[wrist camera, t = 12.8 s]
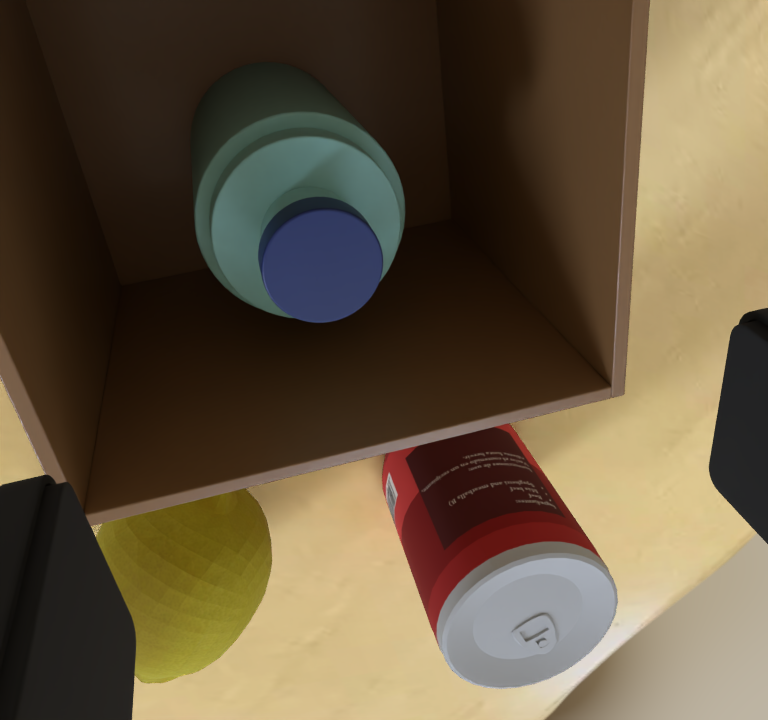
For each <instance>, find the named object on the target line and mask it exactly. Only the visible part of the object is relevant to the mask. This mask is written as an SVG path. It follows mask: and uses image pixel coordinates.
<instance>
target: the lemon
mask: <svg viewBox="0 0 768 720" xmlns="http://www.w3.org/2000/svg"><path fill="white" fill-rule="evenodd" d="M96 539H97V542H98V544H99V546H100V548H101V550H102V552H103V555H104V557H105V559H106V561H107V563H108V566H109V568H110V570H111V572H112V574H113V577H114V579H115V581H116V583H117V585H118V588H119V590H120V592H121V594H122V596H123V599H124V601H125V603H126V605H127V607H128V609H129V612H130V614H131V616H132V619H133V622H134V626H135V632H136V658H135V676H136V677H137V678H138V679H139V680H140V681H141V682H144V683H164V682H167V681H170V680H173V679H175V678H177V677H179V676H183V675H188V674H193V673H195V672H197V671H199V670H201V669H203V668H204V667H206V666H208V665H209V664H211V663H212V662H214V661H215V660H217V659H218V658H220V657H221V656H222V654H223V653H224V652H225V651H226V650H227V649H228V648H229V647H230V646H231V645H232V644H233V643H234V642H235V641H236V640H237V638H238V637H239V636H240V634H241V633H242V631H243V630H244V629H245V627H246V626H247V625H248V623H249V621H250V620H251V618H252V616H253V615H254V613H255V611H256V610H257V608H258V606H259V604H260V603H261V601H262V598H263V596H264V594H265V591H266V587H267V584H268V580H269V576H270V572H271V565H272V550H271V539H270V533H269V529H268V524H267V520H266V517H265V515H264V513H263V511H262V509H261V507H260V505H259V503H258V502H257V501H256V500H255V499H254V497H253V496H252V495H251V494H250V493H249V492H248V491H247V490H246V489H245V488H244V489H240V490H236V491H232V492H228V493H224V494H220V495H215V496H211V497H207V498H203V499H199V500H195V501H191V502H187V503H183V504H179V505H175V506H171V507H167V508H163V509H159V510H154V511H150V512H146V513H142V514H138V515H134V516H130V517H126V518H122V519H118V520H114V521H110V522H106V523H103V524H102V526H101V528H100V530H99V532H98V534H97V536H96Z"/></svg>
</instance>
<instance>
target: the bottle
mask: <svg viewBox="0 0 768 720" xmlns="http://www.w3.org/2000/svg"><path fill="white" fill-rule="evenodd" d="M190 143H191V164H192V184H193V204H194V224H195V232H196V237H197V242H198V245H199V248H200V250H201V253H202V256H203V258H204V260H205V262H206V263H207V265H208V267H209V268H210V270H211V271H212V273H213V274H214V276H215V277H216V278H217V279H218V280H219V282H220V283H221V284H222V285H223V286H224V287H225V288H226V289H228V290H229V291H230V292H231V293H232V294H233V295H235V296H236V297H238V298H239V299H241V300H242V301H244V302H246V303H248V304H250V305H252V306H254V307H256V308H259V309H262V310H264V311H266V312H269V313H272V314H275V315H278V316H283V317H288V318H297V319H299V320H302V321H307V322H314V323H326V322H332V321H336V320H340V319H342V318H345V317H347V316H349V315H351V314H353V313H354V312H356V311H357V310H359V309H360V308H361V307H362V306H363V305H364V304H366V303H367V301H368V300H369V299H370V298H371V297H372V295H373V294H374V292H375V290H376V288H377V286H378V284H379V282H380V281H381V280H382V279H383V277H384V276H385V274H386V273H387V271H388V269H389V267H390V265H391V264H392V262H393V260H394V257H395V254H396V252H397V250H398V247H399V244H400V241H401V238H402V234H403V229H404V222H405V199H404V193H403V187H402V184H401V181H400V178H399V175H398V173H397V170H396V168H395V166H394V164H393V162H392V161H391V159H390V158H389V156H388V155H387V153H386V151H385V150H384V149H383V148H382V147H381V146H380V145H379V143H378V142H377V141H376V140H375V139H374V138H373V137H372V136H371V135H370V134H369V133H368V132H367V131H366V130H365V128H364V127H363V126H362V125H361V124H360V123H359V122H358V121H357V120H356V119H355V118H354V117H353V116H352V115H351V114H350V113H349V112H348V111H347V110H346V109H345V107H344V106H343V105H342V104H341V103H340V102H339V101H338V100H337V99H336V98H335V97H334V96H333V95H332V94H331V93H330V92H329V91H328V90H327V89H326V88H325V86H324V85H322V84H321V83H320V82H319V81H318V80H317V79H316V78H314V77H313V76H311V75H310V74H308V73H306V72H304V71H302V70H300V69H298V68H296V67H293V66H290V65H287V64H281V63H275V62H261V63H253V64H249V65H244V66H242V67H239V68H237V69H234V70H232V71H231V72H229V73H227V74H225V75H224V76H223V77H221V78H220V79H219V80H217V81H216V82H215V83H214V84H213V85H212V86H211V87H210V88H209V89H208V91H207V92H206V93H205V95H204V96H203V98H202V99H201V101H200V103H199V105H198V107H197V109H196V112H195V115H194V117H193V122H192V126H191V136H190Z"/></svg>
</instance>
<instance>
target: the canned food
mask: <svg viewBox="0 0 768 720" xmlns="http://www.w3.org/2000/svg"><path fill="white" fill-rule="evenodd" d="M382 482H383V491H384V495H385V498H386V501H387V504H388V507H389V510H390V512H391V515H392V518H393V521H394V524H395V526H396V529H397V532H398V535H399V538H400V541H401V543H402V546H403V549H404V552H405V555H406V557H407V560H408V563H409V566H410V569H411V572H412V574H413V577H414V580H415V583H416V586H417V588H418V591H419V594H420V597H421V600H422V603H423V605H424V608H425V611H426V614H427V617H428V619H429V622H430V625H431V628H432V630H433V632H434V635H435V637H436V640H437V643H438V646H439V648H440V650H441V652H442V654H443V655H444V658H445V660H446V662H447V663H448V665H449V667H450V668H451V670H452V671H453V672H455V673H456V674H457V675H458V676H459V677H460V678H462V679H464V680H466V681H468V682H470V683H472V684H474V685H478V686H482V687H486V688H498V689H505V688H517V687H522V686H527V685H532V684H535V683H538V682H541V681H544V680H547V679H549V678H551V677H553V676H555V675H557V674H560V673H562V672H564V671H565V670H567V669H568V668H570V667H572V666H573V665H575V664H576V663H578V662H579V661H580V660H581V659H583V658H584V657H585V656H586V655H587V654H589V653H590V652H591V651H592V650H593V649H594V648H595V647H596V645H597V644H598V643H599V642H600V641H601V640H602V638H603V637H604V635H605V634H606V632H607V631H608V629H609V628H610V626H611V623H612V621H613V619H614V616H615V613H616V608H617V603H618V599H617V588H616V586H615V583H614V580H613V578H612V576H611V575H610V573H609V570H608V568H607V566H606V565H605V563H604V562H603V560H602V559H601V557H600V556H599V554H598V553H597V551H596V549H595V547H594V546H593V545H592V543H591V542H590V540H589V539H588V537H587V536H586V534H585V533H584V531H583V530H582V528H581V527H580V525H579V524H578V523H577V521H576V520H575V518H574V517H573V515H572V514H571V512H570V511H569V509H568V508H567V506H566V505H565V503H564V502H563V501H562V499H561V498H560V496H559V495H558V493H557V492H556V490H555V489H554V487H553V486H552V484H551V483H550V481H549V480H548V479H547V477H546V476H545V474H544V473H543V471H542V470H541V468H540V467H539V465H538V464H537V462H536V461H535V459H534V458H533V457H532V455H531V454H530V452H529V451H528V449H527V448H526V446H525V445H524V443H523V442H522V440H521V439H520V437H519V436H518V435H517V433H516V432H515V431H514V429H513V428H512V426H511V425H509V424H504V425H500V426H496V427H492V428H488V429H484V430H480V431H476V432H472V433H467V434H463V435H459V436H455V437H451V438H447V439H443V440H439V441H435V442H431V443H427V444H423V445H419V446H415V447H411V448H407V449H402V450H398V451H394V452H390V453H386V455H385V460H384V465H383V474H382Z"/></svg>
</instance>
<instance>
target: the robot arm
mask: <svg viewBox="0 0 768 720" xmlns="http://www.w3.org/2000/svg"><path fill="white" fill-rule="evenodd" d="M709 472H710V477H711V480H712V482H713V484H714V486H715V487H716V489H717V490H718V491H719V492H720V493H721V494H722V496H723V497H724V498H725V499H726V500H727V501H728V502H729V503H730V504H731V505H732V506H733V507H734V508H735V510H736V511H737V512H738V513H739V514H740V515H741V516H742V517H743V518H744V519H745V520H746V521H747V522H748V523H749V525H750V526H751V527H752V528H753V529H754V530H755V531H756V532H757V533H758V534H759V535H760V536H761V537H762V538H763V540H764V541H765V542H766V543H767V544H768V308H764V309H760V310H755V311H751V312H748V313H746V314H744V315H743V317H742V318H741V319H740V322H739V325H737V326H735V327H734V328H733V330H732V332H731V335H730V341H729V347H728V353H727V359H726V365H725V371H724V377H723V383H722V389H721V396H720V402H719V408H718V414H717V420H716V426H715V432H714V438H713V444H712V450H711V456H710V462H709ZM135 658H136V632H135V626H134V622H133V619H132V616H131V614H130V612H129V609H128V607H127V605H126V603H125V601H124V599H123V596H122V594H121V592H120V590H119V588H118V585H117V583H116V581H115V579H114V577H113V574H112V572H111V570H110V568H109V566H108V563H107V561H106V559H105V557H104V555H103V552H102V550H101V548H100V546H99V544H98V542H97V539H96V537H95V535H94V533H93V531H92V528H91V526H90V524H89V522H88V520H87V517H86V515H85V513H84V511H83V509H82V506H81V504H80V502H79V500H78V498H77V496H76V493H75V491H74V489H73V487H72V486H71V484H70V483H69V482H63V483H58V484H57V483H56V482H55V480H54V479H53V478H52V477H51V476H50V475H43V476H38V477H34V478H30V479H25V480H21V481H17V482H12V483H8V484H4V485H2V486H0V720H132V708H133V692H134V675H135Z"/></svg>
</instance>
